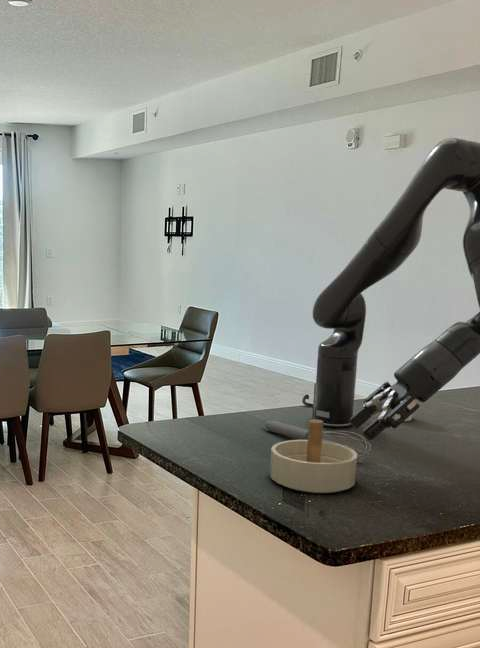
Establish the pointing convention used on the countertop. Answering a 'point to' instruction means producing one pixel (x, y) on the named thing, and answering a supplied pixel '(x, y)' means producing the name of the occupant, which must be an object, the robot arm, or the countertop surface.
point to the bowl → (313, 467)
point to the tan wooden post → (314, 441)
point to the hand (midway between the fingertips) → (358, 430)
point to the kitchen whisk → (303, 433)
